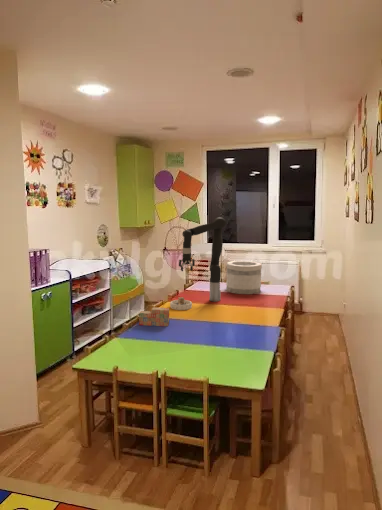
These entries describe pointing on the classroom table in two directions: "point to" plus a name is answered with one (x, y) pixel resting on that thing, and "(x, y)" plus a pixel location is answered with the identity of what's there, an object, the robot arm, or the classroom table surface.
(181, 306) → the grey ring
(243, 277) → the storage basket
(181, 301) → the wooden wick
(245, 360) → the classroom table surface
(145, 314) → the stack of blocks
